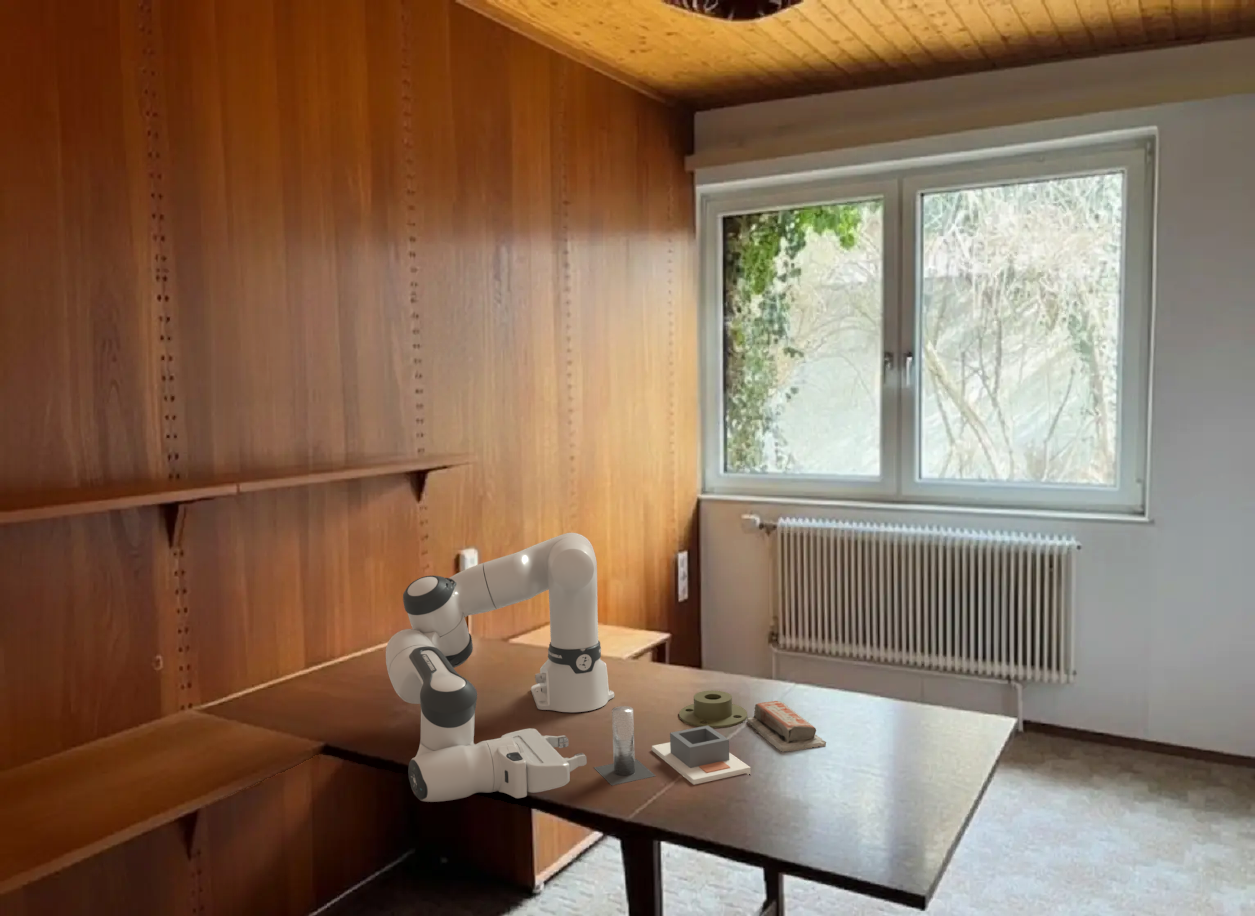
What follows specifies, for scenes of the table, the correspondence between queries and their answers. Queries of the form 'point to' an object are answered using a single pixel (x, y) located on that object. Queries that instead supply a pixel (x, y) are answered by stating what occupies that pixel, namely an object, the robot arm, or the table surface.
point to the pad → (614, 779)
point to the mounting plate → (700, 755)
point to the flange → (713, 710)
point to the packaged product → (784, 727)
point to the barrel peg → (623, 740)
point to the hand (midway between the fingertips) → (576, 749)
